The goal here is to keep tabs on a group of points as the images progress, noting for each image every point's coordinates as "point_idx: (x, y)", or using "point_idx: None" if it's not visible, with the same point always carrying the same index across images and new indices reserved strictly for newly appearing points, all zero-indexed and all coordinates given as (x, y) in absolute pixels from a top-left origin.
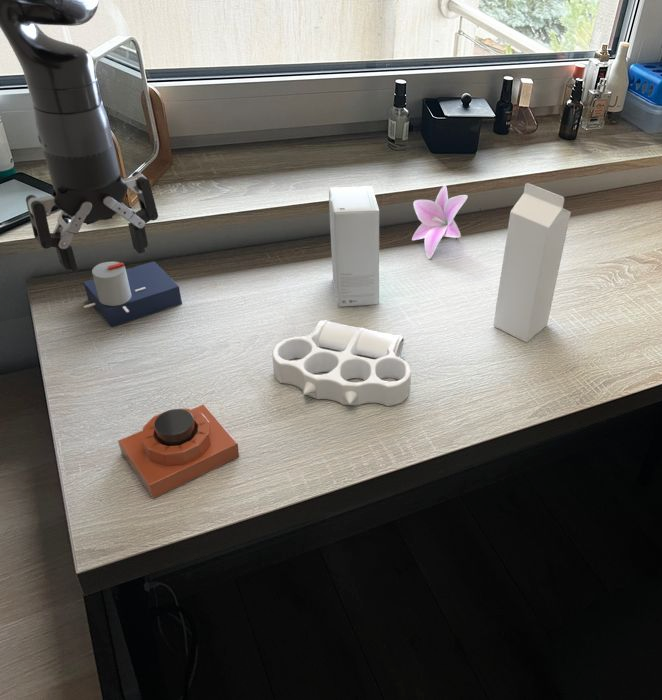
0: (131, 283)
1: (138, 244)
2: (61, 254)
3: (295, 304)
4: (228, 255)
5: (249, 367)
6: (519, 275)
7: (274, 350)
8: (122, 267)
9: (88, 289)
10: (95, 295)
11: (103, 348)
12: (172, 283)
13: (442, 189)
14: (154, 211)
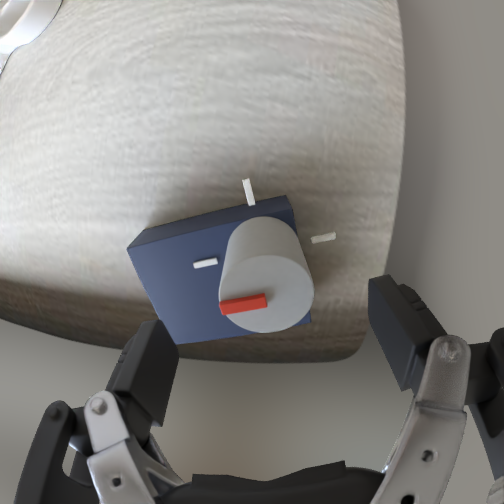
0: None
1: (146, 343)
2: (434, 324)
3: (2, 177)
4: (84, 332)
5: (81, 18)
6: None
7: (31, 3)
8: (226, 295)
9: None
10: None
11: (312, 131)
12: (138, 263)
13: None
14: (44, 427)
